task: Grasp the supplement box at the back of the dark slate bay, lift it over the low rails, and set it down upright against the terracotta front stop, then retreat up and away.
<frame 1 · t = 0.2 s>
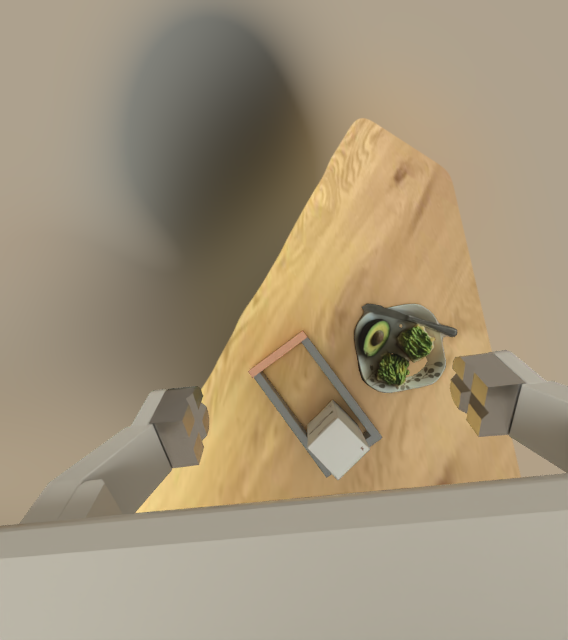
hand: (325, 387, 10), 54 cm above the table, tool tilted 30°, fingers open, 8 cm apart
bay: (314, 400, 63), on the table
salad plate: (394, 346, 63), on the table
supplement box: (332, 424, 63), resting in bay
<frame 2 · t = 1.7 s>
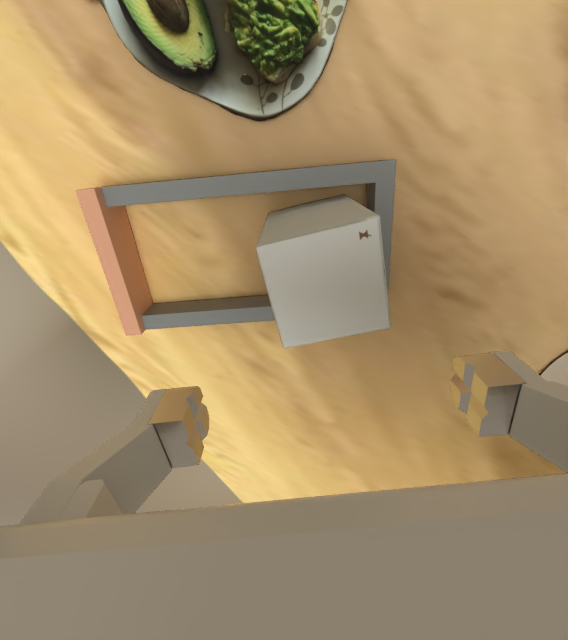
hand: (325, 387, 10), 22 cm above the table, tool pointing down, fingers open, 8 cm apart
bay: (250, 247, 31), on the table
supplement box: (312, 241, 31), resting in bay
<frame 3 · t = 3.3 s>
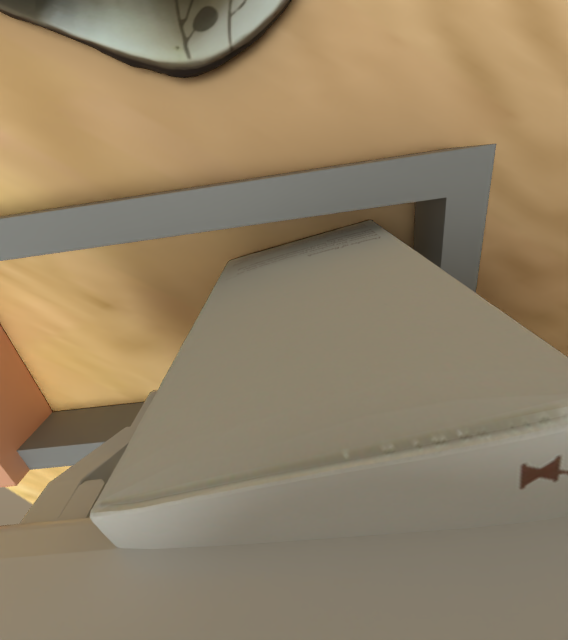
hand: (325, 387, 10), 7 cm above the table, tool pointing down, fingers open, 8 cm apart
bay: (203, 320, 17), on the table
supplement box: (314, 304, 17), resting in bay
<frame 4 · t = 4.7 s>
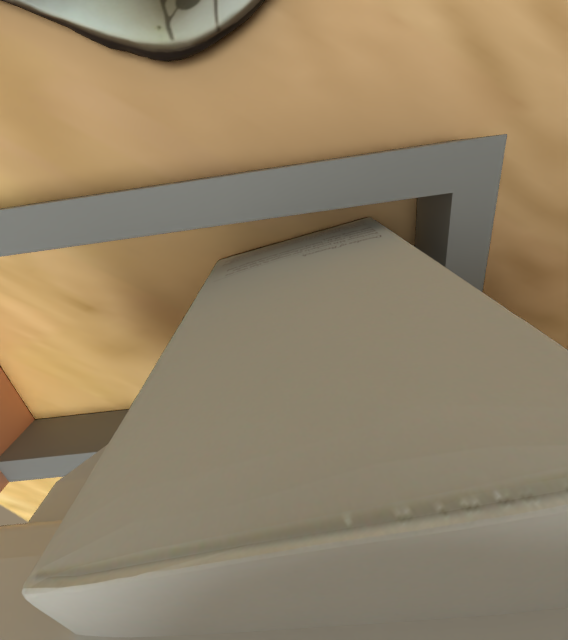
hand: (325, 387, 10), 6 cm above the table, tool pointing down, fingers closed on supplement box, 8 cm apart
bay: (192, 323, 16), on the table
supplement box: (309, 306, 16), resting in bay, touching gripper
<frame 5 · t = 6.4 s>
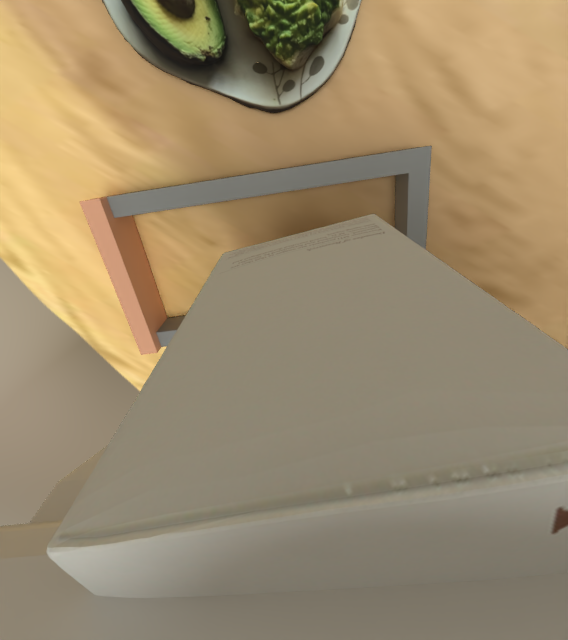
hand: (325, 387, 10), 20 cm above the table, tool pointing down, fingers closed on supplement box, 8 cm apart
bay: (269, 252, 28), on the table
supplement box: (312, 301, 16), point 13 cm above the table, touching gripper
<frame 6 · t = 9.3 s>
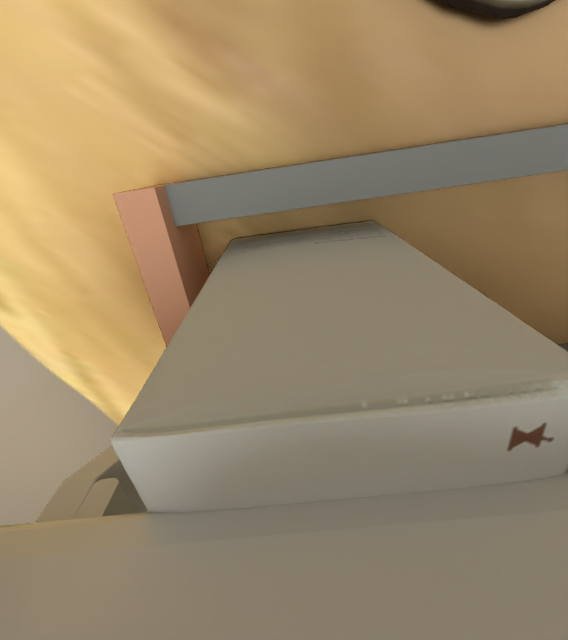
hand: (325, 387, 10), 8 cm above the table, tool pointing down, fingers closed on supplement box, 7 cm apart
bay: (421, 282, 17), on the table
supplement box: (308, 294, 17), resting in bay, touching gripper
when the fingers open (8 cm above the table, at t = 10.2 s): supplement box stays where it is, resting in bay.
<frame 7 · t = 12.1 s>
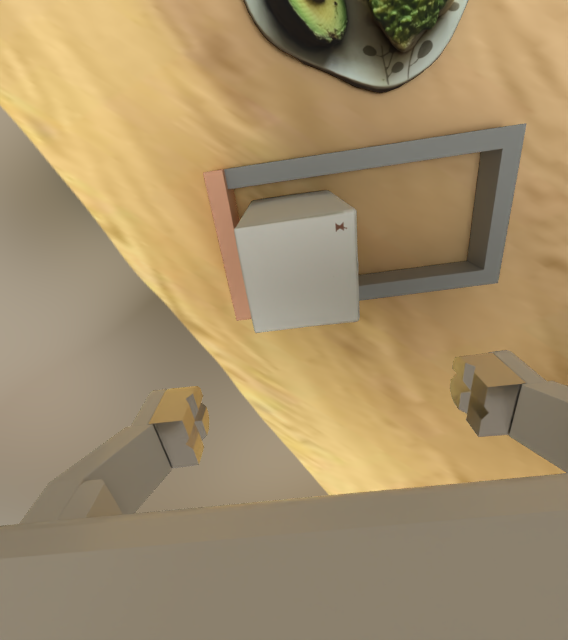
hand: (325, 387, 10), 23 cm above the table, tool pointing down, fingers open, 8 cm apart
bay: (356, 225, 30), on the table
supplement box: (293, 233, 31), resting in bay
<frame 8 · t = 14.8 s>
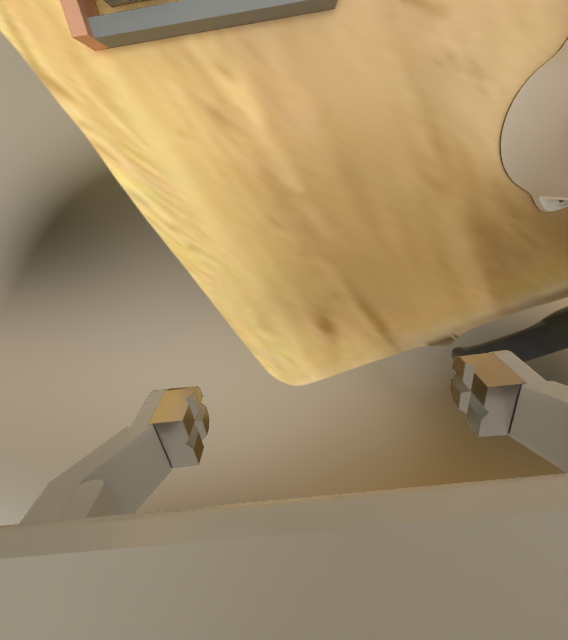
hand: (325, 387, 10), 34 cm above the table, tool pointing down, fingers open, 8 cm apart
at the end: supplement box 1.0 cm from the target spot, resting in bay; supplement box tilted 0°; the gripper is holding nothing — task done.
